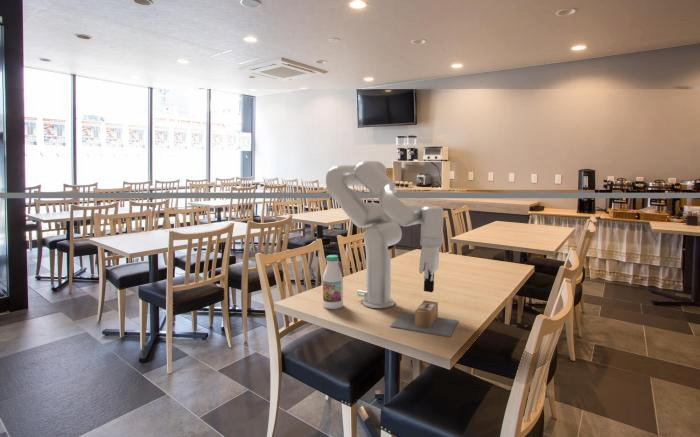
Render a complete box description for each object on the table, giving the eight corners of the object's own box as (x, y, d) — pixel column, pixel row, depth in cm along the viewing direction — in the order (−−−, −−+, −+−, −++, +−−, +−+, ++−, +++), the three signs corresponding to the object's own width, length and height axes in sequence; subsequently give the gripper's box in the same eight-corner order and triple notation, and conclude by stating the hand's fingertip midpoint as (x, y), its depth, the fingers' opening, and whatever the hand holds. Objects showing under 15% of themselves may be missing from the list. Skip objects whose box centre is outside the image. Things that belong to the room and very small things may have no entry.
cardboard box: (424, 313, 145) (414, 325, 134) (424, 299, 144) (415, 310, 133) (437, 315, 143) (429, 327, 132) (438, 301, 142) (429, 312, 131)
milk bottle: (327, 302, 159) (326, 253, 157) (345, 303, 157) (345, 254, 154) (320, 308, 152) (319, 257, 149) (339, 310, 150) (338, 258, 147)
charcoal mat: (390, 326, 134) (390, 325, 134) (402, 312, 147) (402, 311, 147) (450, 337, 126) (450, 336, 125) (458, 321, 138) (458, 320, 138)
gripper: (426, 236, 148) (423, 283, 151) (414, 243, 135) (412, 295, 137) (446, 238, 145) (443, 286, 148) (436, 246, 132) (434, 299, 134)
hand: (428, 291), depth 143 cm, fingers closed
